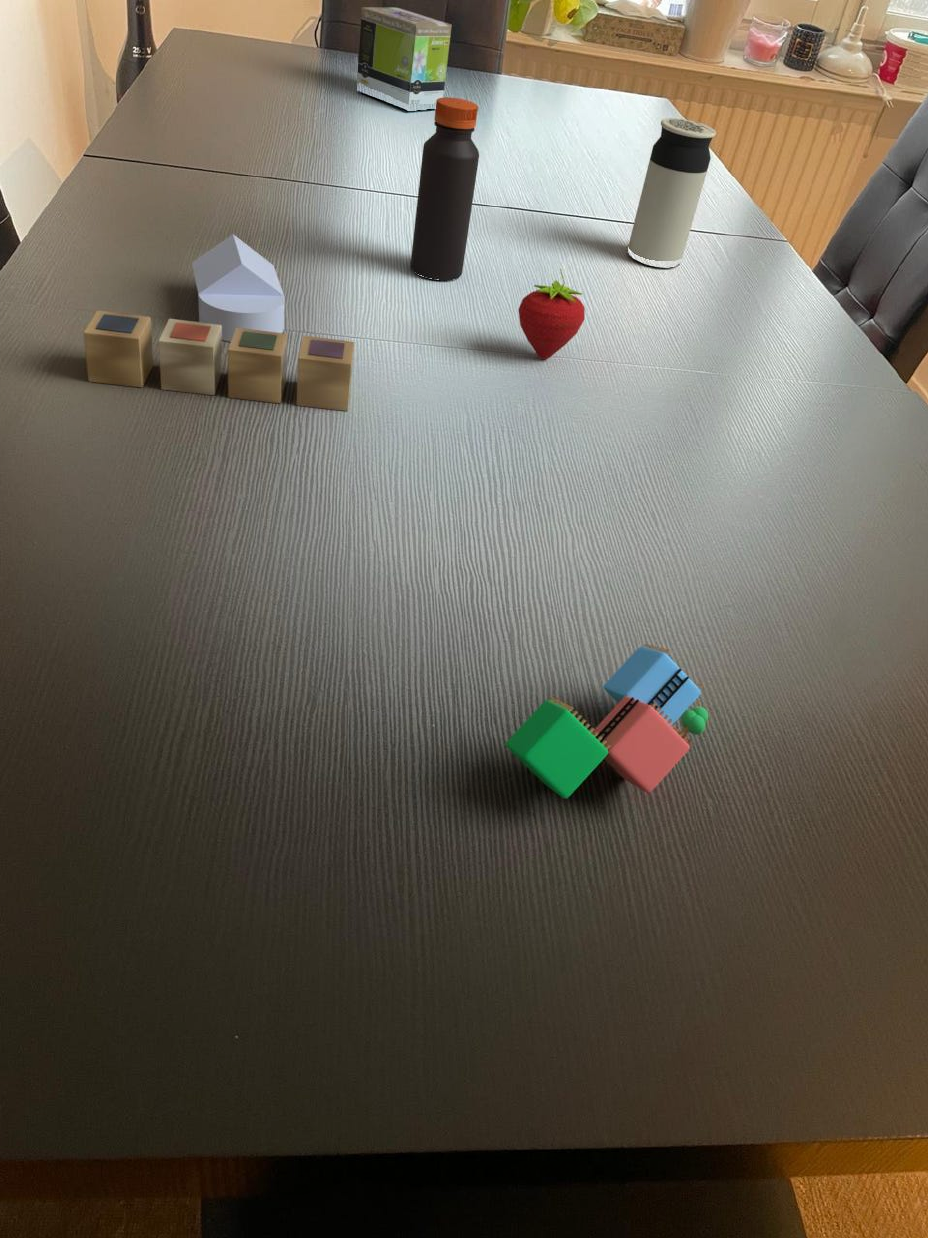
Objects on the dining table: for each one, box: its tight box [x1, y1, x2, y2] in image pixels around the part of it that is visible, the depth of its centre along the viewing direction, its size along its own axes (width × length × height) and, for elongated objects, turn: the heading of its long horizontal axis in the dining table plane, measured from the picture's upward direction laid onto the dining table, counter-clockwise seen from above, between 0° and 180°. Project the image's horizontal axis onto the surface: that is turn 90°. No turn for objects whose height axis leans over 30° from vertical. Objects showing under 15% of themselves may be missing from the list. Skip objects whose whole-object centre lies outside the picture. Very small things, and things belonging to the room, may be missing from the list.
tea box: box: [356, 6, 453, 105], centre depth 188 cm, size 15×10×15 cm
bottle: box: [410, 96, 480, 281], centre depth 121 cm, size 7×7×20 cm
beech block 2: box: [227, 328, 288, 404], centre depth 95 cm, size 5×5×5 cm
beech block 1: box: [83, 310, 154, 388], centre depth 94 cm, size 5×5×5 cm
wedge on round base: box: [191, 233, 286, 343], centre depth 107 cm, size 9×7×13 cm
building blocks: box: [505, 643, 709, 800], centre depth 64 cm, size 8×8×12 cm
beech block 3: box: [295, 335, 355, 412], centre depth 96 cm, size 5×5×5 cm
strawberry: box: [518, 268, 586, 360], centre depth 109 cm, size 6×8×10 cm
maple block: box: [158, 318, 223, 396], centre depth 95 cm, size 5×5×5 cm
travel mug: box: [627, 117, 717, 261], centre depth 138 cm, size 8×8×18 cm
